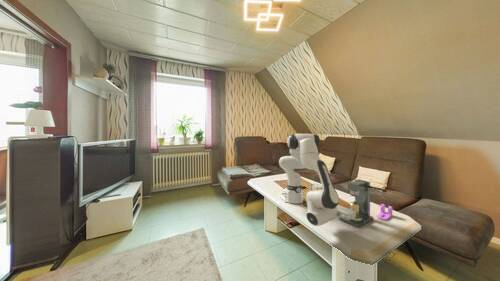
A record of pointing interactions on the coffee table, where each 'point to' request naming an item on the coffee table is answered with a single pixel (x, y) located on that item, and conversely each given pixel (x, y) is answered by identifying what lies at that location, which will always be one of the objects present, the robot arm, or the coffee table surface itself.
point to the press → (361, 202)
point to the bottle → (355, 208)
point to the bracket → (385, 213)
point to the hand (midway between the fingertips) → (343, 205)
